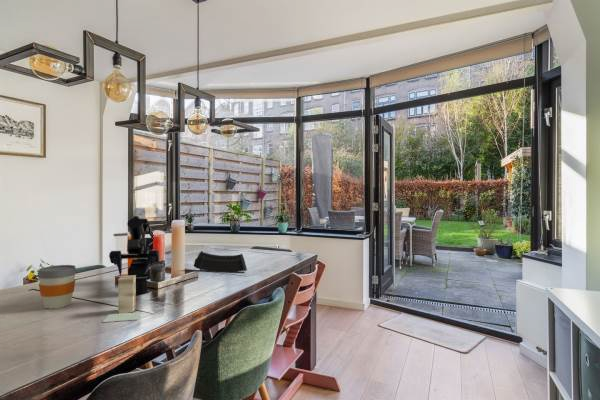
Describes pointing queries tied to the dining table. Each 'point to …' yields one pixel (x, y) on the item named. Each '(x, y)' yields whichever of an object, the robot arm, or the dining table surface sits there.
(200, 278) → the dining table surface
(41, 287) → the reusable coffee cup
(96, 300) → the dining table surface
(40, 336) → the dining table surface
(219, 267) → the magazine
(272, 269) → the dining table surface
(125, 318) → the mat
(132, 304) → the maple block
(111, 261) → the robot arm
